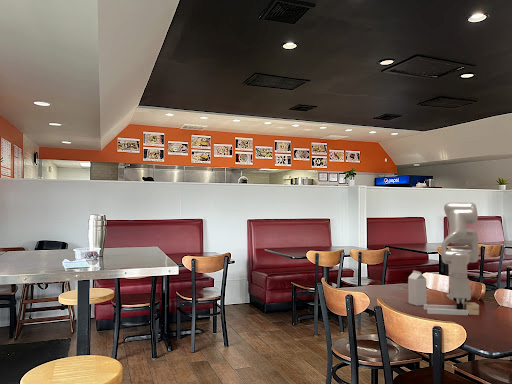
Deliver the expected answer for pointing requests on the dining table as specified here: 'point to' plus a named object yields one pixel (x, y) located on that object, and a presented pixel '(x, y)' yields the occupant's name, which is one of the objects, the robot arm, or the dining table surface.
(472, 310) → the maple block
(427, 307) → the channel
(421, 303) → the milk carton
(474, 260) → the robot arm
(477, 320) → the dining table surface
